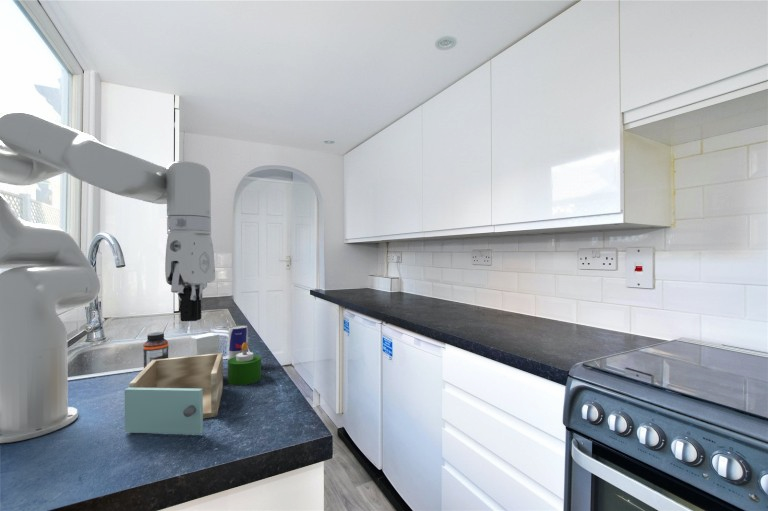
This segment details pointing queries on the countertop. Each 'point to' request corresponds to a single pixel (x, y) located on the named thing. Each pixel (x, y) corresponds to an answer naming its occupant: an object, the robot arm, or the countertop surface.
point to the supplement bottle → (155, 347)
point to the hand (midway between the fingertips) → (191, 320)
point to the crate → (187, 377)
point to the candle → (244, 368)
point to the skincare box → (204, 344)
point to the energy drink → (237, 339)
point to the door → (164, 410)
